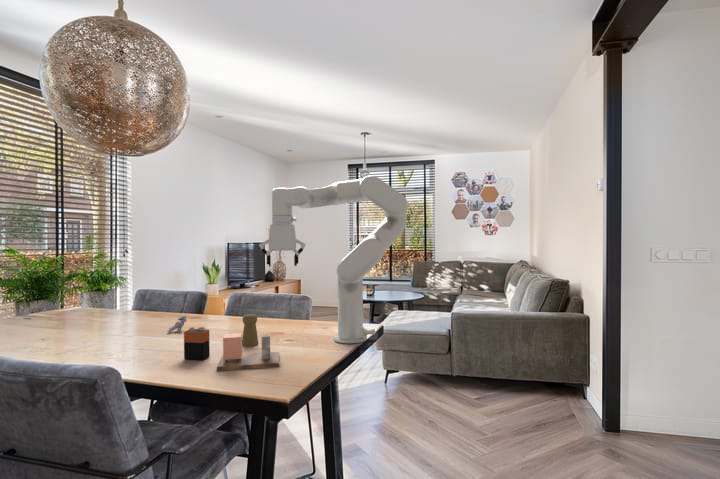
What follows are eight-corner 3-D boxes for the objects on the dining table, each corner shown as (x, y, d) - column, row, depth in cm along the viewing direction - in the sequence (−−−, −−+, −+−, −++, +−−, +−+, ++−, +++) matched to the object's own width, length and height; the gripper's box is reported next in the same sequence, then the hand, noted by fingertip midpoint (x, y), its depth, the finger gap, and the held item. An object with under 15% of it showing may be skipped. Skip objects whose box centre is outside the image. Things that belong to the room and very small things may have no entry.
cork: (254, 347, 147) (253, 316, 147) (238, 346, 148) (238, 315, 148) (261, 342, 153) (261, 313, 153) (246, 342, 154) (246, 312, 154)
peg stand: (278, 355, 136) (278, 330, 136) (279, 366, 124) (279, 339, 124) (221, 359, 132) (221, 333, 132) (216, 371, 121) (216, 343, 121)
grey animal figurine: (160, 332, 172) (178, 320, 180) (170, 342, 172) (187, 330, 179) (167, 319, 167) (185, 308, 174) (177, 330, 166) (194, 318, 174)
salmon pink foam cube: (242, 353, 131) (242, 333, 130) (241, 358, 125) (240, 337, 125) (225, 355, 129) (225, 334, 129) (223, 359, 124) (223, 338, 124)
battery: (202, 360, 131) (202, 329, 131) (183, 359, 132) (183, 328, 132) (210, 357, 135) (209, 326, 135) (191, 356, 136) (191, 325, 136)
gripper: (304, 221, 161) (304, 264, 161) (259, 221, 158) (259, 265, 158) (306, 220, 154) (306, 266, 154) (258, 220, 150) (258, 267, 151)
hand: (282, 266), depth 156 cm, fingers open, 9 cm apart
